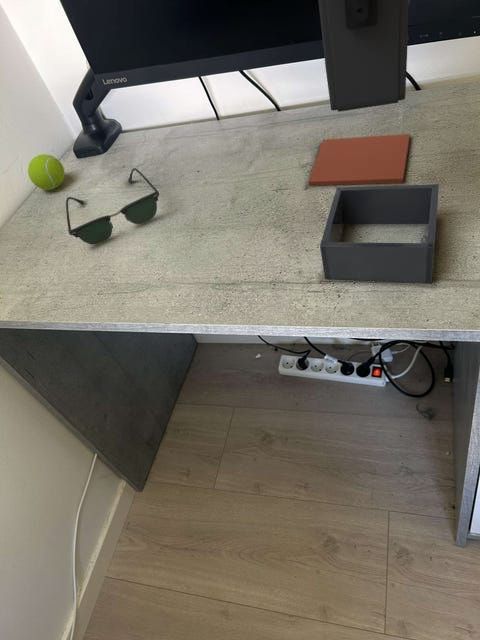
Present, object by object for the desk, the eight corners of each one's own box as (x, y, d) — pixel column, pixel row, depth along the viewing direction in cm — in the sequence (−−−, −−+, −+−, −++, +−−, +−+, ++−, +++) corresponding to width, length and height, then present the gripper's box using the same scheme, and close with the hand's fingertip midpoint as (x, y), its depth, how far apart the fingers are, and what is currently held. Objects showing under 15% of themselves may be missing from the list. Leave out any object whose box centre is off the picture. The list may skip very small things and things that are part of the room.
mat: (409, 138, 84) (409, 133, 84) (403, 182, 76) (403, 178, 76) (323, 143, 90) (323, 139, 89) (309, 185, 82) (308, 181, 81)
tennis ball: (33, 197, 103) (14, 168, 98) (49, 178, 107) (32, 149, 102) (61, 195, 100) (43, 165, 95) (76, 175, 104) (59, 146, 99)
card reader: (406, 88, 60) (409, -61, 49) (408, 104, 57) (412, -49, 46) (330, 100, 62) (317, -39, 51) (329, 116, 60) (315, -27, 49)
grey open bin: (436, 220, 69) (438, 184, 65) (431, 283, 62) (434, 247, 57) (340, 220, 74) (336, 187, 70) (324, 279, 67) (319, 246, 62)
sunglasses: (144, 175, 98) (134, 152, 94) (168, 215, 86) (158, 191, 82) (67, 209, 96) (54, 187, 92) (82, 255, 84) (68, 232, 81)
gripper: (393, -238, 33) (394, 45, 47) (410, -254, 43) (407, -17, 56) (287, -203, 36) (316, 55, 49) (326, -226, 46) (341, -6, 59)
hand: (364, 15), depth 53 cm, fingers closed on card reader, 4 cm apart
